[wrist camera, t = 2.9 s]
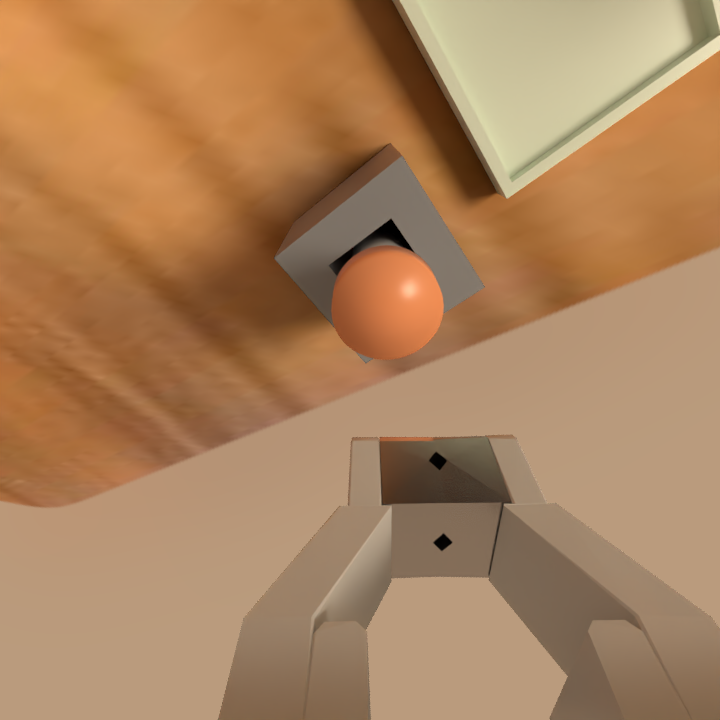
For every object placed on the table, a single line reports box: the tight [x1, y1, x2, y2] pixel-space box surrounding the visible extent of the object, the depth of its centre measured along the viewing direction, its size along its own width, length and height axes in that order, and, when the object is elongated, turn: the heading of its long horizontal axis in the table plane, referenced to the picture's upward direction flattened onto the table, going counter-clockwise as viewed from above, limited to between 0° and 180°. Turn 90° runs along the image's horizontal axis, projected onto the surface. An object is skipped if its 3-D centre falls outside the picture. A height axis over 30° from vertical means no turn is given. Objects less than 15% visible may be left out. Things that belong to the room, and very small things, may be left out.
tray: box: [392, 0, 720, 198], centre depth 17 cm, size 10×10×2 cm
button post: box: [274, 143, 485, 363], centre depth 19 cm, size 6×6×6 cm
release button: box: [331, 230, 444, 360], centre depth 16 cm, size 4×4×6 cm
